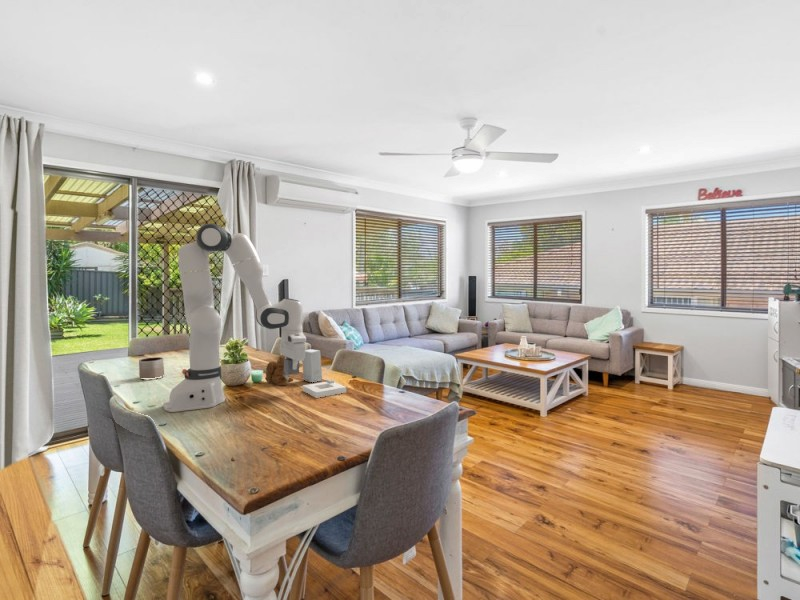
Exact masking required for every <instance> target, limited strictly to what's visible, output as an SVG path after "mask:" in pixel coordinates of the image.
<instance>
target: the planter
mask: <svg viewBox="0 0 800 600" xmlns="http://www.w3.org/2000/svg"><path fill="white" fill-rule="evenodd" d="M164 365H165V363H164V357H157V356H156V357H154V356H153V357H146V358H141V359H139V360H138V371H139V372H138V373H139V374H138V376H139V379H140V378H155V377H160V376H163V375H164V376H165V366H164Z"/></svg>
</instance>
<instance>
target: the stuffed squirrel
mask: <svg viewBox="0 0 800 600" xmlns="http://www.w3.org/2000/svg"><path fill="white" fill-rule="evenodd" d="M284 359H285V356H283V355H281V354H280V355H279V356H276V361H275V360H274V361H269V362H268V363H267V365H266V368H265V370H266V371H265V378H264V380H265V381H266V382H267V383H268V384H275V385H277V386H285V387H286V386H287V385H288V382H293V381H294V378H293V377H290V375H287V374H285V373H284Z"/></svg>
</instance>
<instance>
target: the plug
mask: <svg viewBox="0 0 800 600" xmlns="http://www.w3.org/2000/svg"><path fill="white" fill-rule="evenodd" d="M292 364H293V362H292V359H291V358H288V359H284V373H285V374H287V375H289V376H291V375H296V374H297V375H298V374H300V361H298V364H297V369H296V370H293V369H292Z"/></svg>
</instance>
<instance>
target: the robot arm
mask: <svg viewBox="0 0 800 600" xmlns="http://www.w3.org/2000/svg"><path fill="white" fill-rule="evenodd" d="M217 252H223V253H225V254H226V255H227V257H228V258H229V262H230V263H231V265H232V268H233V269H234V271H235V273H236V274H237V276H238V278H239V279H240V280H241V282H242V283H243V284H244V286H245V287H246V289H247V291H248V293H249V295H250V298H251V299H252V303H253V304H254V307H255V320H256V323H257V324H258V325H259V326H261V327H262V328H266V329H267V330H276V329H279V328H280V329H281V331H280V332H281V333H280V334H281V335H280V338H281V339H280V342H279V343H280V345H279V354H280V356H281V355H283V356H285V359H288V358H291V359H292V362H293V364H292V369H293V370H296V369H297V364H298V361H299V362H301V361H303V360H304V358H305V350H306V343H307V337H306V335H305V334H304V332H303V326H302V325H303V318H304V317H303V316H304V315H303V314H304V313H303V304H302V302H301V301H299V300H297V299H294V298H283V299H282V300H280V301H278V302H277V303H274V304H272V302H271V301H270V300H269V297H268V294H267V293H266V290H265V288H264V285H263V273H264V269H263V264H262V260H261V258H260V255H259V253H258V251H257V249H256V248H255V246H254V244H253V242H252V241H251V239H250V238H249V236H248V235H247V234H245V233H241V232H239V233H234V234H231V233H230V232H228V231H227V230H226V229H224V228H223V227H222V226H220V225H218V224H216V223H206V224H203V225H202V226H200V227H199V229H197V232H196V238H195V241H194V242H190V243H186V244H183V245H181V246H179V249H178V252H177V253H178V254H177V255H178V258H177V259H178V260H177V261H178V262H177V264H178V272H179V278H180V284H181V289H182V295H183V296H182V297H183V305H184V313H185V320H186V324H187V326H188V327H189V348H188V350H189V368H188V369H186V368H184V369H182V370H181V374H182V375H184V379H183V380H182V381H180V382H179V383H178V384H177V385H175V386H174V387H173V388H172V389H171V391H170V394H169V400H168V401H165V402H164V403H163V406H162V408H163V410H164V411H166V412H168V413H169V412H170V413H177V412H183V411H193V410H200V409H207V408H208V409H209V408H214V407H216V406H217V405H219V404H222V403H224V402H225V401H226V397H225V394H224V391H223V386H222V378H223V377H222V376H223V374H222V366H221V363H220V362H221V360H220V359H221V358H220V343H221V342H220V341H221V325H222V319H221V315H220V313H219V312H218V310H216V309H215V304H214V303H215V302H214V287H213V280H212V279H213V278H212V273H211V269H210V268H211V267H210V263H209V259H210V255H213V254H214V253H217Z"/></svg>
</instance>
